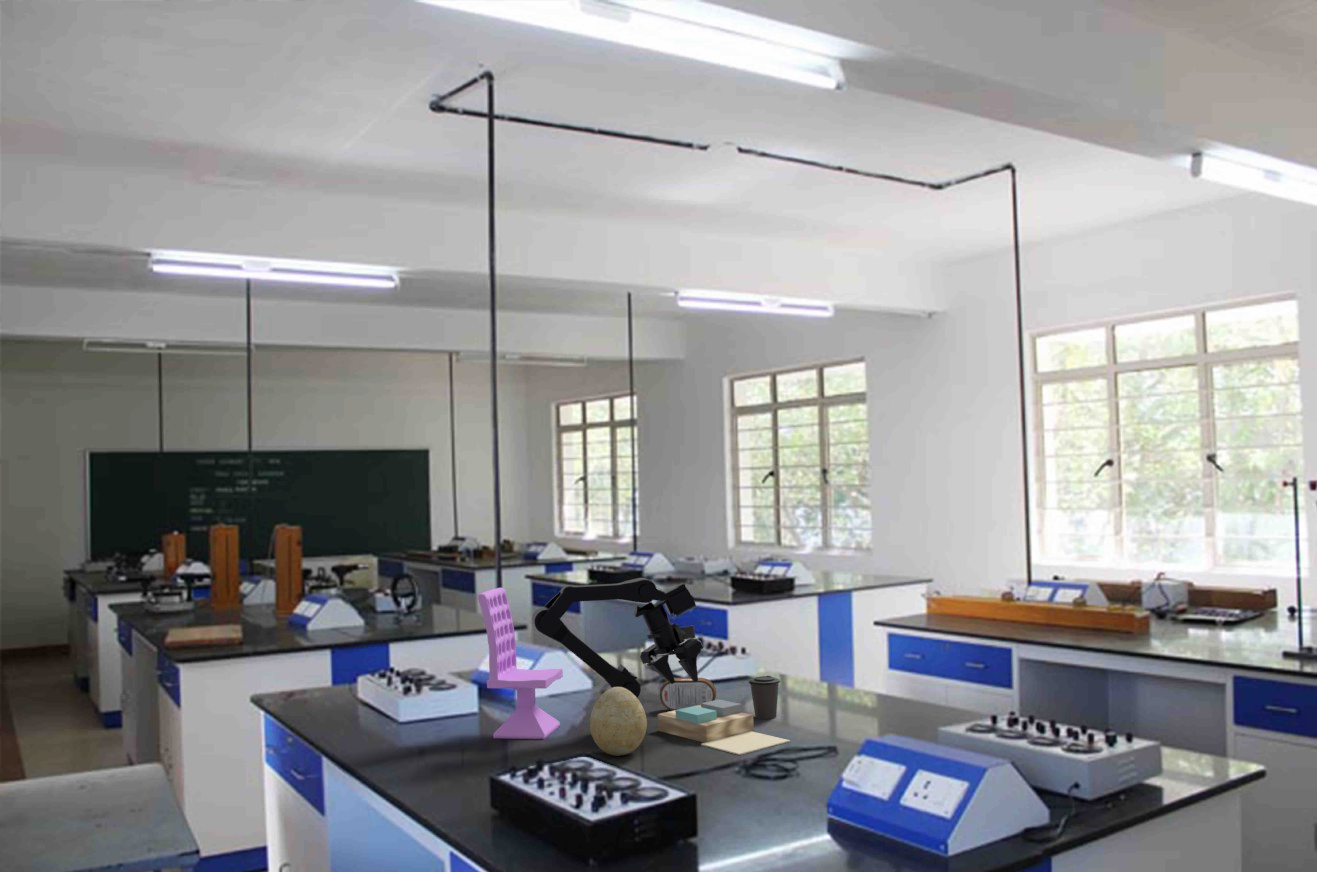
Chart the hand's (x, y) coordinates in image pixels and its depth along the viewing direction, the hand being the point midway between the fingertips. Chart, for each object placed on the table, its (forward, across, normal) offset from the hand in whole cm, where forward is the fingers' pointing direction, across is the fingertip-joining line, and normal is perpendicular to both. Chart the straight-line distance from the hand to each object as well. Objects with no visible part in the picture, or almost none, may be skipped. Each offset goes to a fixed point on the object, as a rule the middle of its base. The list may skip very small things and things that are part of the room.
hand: (684, 682), depth 257 cm
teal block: (+6, -8, +7) cm, 13 cm away
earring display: (-5, +26, +32) cm, 42 cm away
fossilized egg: (+2, -8, +30) cm, 32 cm away
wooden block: (+11, -6, +4) cm, 13 cm away
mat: (+13, -21, +7) cm, 26 cm away
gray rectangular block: (+9, -7, -1) cm, 12 cm away
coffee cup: (+18, -5, -15) cm, 24 cm away
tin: (+12, +15, -8) cm, 21 cm away
